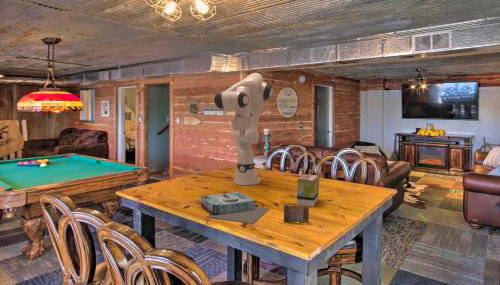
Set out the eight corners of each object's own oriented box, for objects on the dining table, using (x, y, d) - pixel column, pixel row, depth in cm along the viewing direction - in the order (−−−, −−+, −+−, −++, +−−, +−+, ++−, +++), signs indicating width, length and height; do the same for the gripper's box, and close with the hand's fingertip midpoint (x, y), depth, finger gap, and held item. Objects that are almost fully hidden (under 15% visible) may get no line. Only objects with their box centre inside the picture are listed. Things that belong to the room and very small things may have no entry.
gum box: (239, 199, 188) (200, 204, 178) (239, 190, 188) (200, 195, 178) (254, 209, 171) (212, 215, 161) (254, 199, 170) (212, 205, 160)
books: (283, 223, 153) (283, 202, 152) (284, 221, 156) (284, 201, 155) (308, 225, 150) (308, 204, 149) (308, 223, 153) (309, 202, 152)
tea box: (314, 207, 177) (315, 180, 175) (296, 205, 180) (296, 178, 179) (318, 199, 191) (319, 174, 189) (301, 198, 194) (302, 173, 193)
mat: (228, 203, 181) (228, 203, 181) (269, 209, 173) (269, 208, 173) (206, 217, 159) (206, 216, 159) (253, 223, 150) (253, 223, 150)
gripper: (240, 114, 184) (240, 139, 185) (253, 113, 203) (253, 136, 204) (230, 114, 186) (230, 138, 188) (244, 113, 205) (243, 135, 207)
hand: (242, 137), depth 196 cm, fingers closed
